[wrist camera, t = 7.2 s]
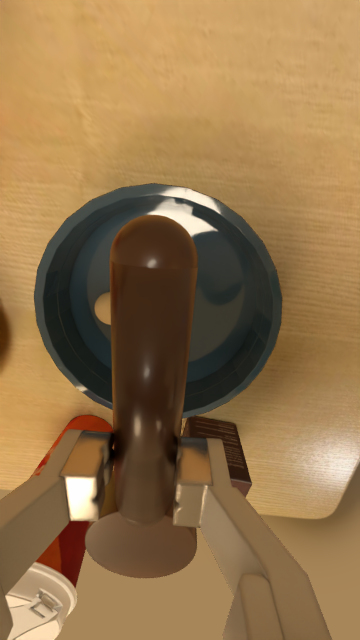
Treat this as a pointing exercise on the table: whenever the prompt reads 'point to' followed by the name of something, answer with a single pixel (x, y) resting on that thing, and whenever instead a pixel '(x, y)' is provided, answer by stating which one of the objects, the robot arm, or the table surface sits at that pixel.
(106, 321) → the ball
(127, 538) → the disc-headed brown rod
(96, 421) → the coffee cup
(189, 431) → the box
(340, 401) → the table surface
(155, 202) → the bowl
